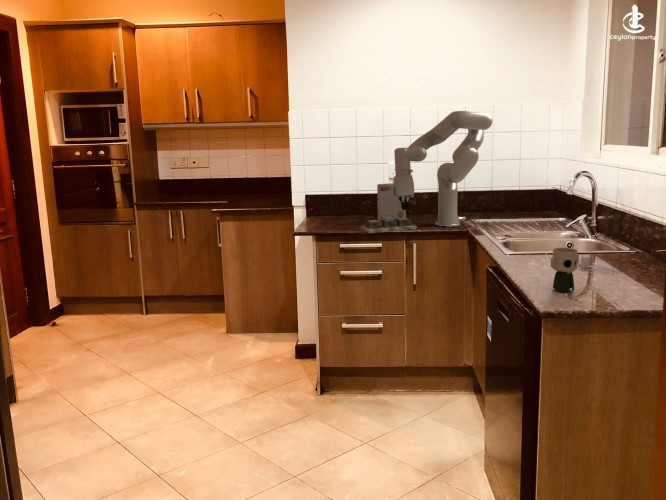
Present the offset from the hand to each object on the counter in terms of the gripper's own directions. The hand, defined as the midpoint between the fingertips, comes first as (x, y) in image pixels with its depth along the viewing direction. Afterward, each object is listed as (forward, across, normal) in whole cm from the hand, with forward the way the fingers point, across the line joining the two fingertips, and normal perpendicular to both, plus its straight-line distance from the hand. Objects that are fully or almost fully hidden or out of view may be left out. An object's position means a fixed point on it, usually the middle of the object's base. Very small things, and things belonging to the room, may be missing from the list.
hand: (404, 209), depth 314 cm
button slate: (+6, +10, 0) cm, 11 cm away
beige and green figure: (+10, +10, +128) cm, 129 cm away
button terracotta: (+7, +18, 0) cm, 19 cm away
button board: (+9, +10, 0) cm, 13 cm away
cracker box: (+10, 0, -17) cm, 20 cm away
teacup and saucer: (+12, -21, +107) cm, 109 cm away
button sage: (+7, +2, 0) cm, 8 cm away
